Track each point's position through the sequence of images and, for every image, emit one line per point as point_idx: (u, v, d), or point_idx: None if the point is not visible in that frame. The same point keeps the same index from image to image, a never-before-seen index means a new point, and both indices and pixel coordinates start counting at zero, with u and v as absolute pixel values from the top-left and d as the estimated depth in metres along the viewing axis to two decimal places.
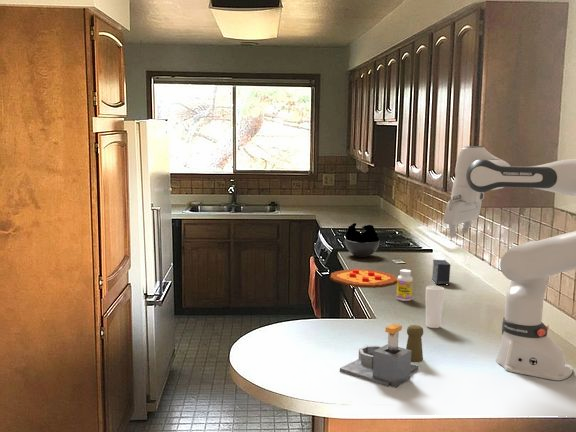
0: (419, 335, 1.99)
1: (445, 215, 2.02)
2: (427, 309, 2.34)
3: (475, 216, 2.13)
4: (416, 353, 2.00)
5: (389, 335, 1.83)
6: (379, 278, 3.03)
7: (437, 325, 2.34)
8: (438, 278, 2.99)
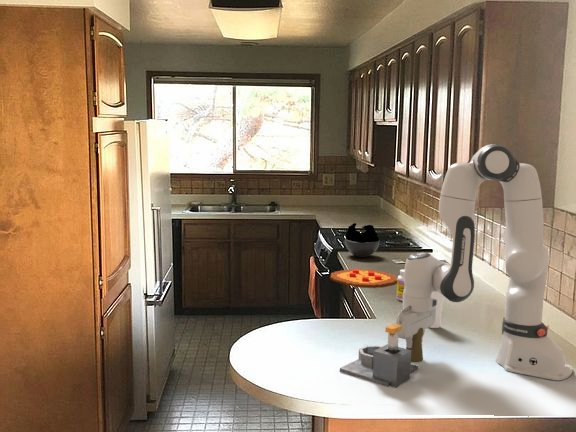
0: (419, 335, 1.99)
1: None
2: None
3: (430, 323, 2.05)
4: (416, 353, 2.00)
5: (389, 335, 1.83)
6: (379, 278, 3.03)
7: (437, 325, 2.34)
8: None
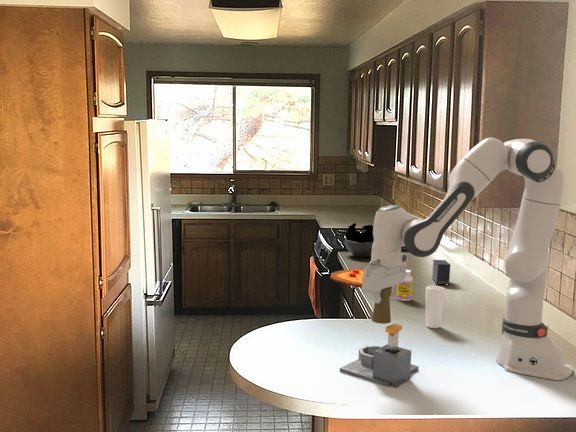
0: (387, 295, 1.94)
1: (363, 282, 1.88)
2: (427, 309, 2.34)
3: (400, 279, 1.99)
4: (384, 314, 1.94)
5: (389, 335, 1.83)
6: None
7: (437, 325, 2.34)
8: (438, 278, 2.99)
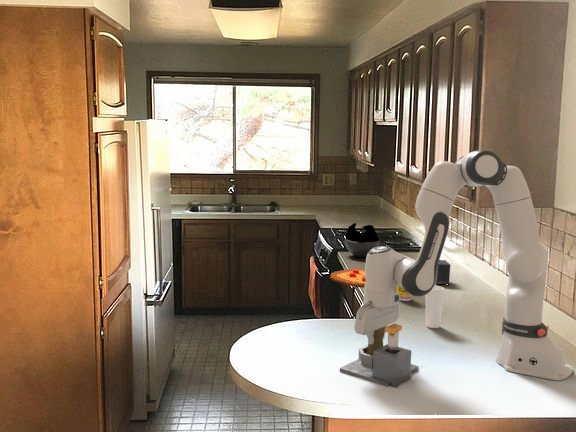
0: (380, 336, 1.95)
1: (356, 325, 1.90)
2: (427, 309, 2.34)
3: (393, 319, 2.00)
4: None
5: (389, 335, 1.83)
6: None
7: (437, 325, 2.34)
8: (438, 278, 2.99)
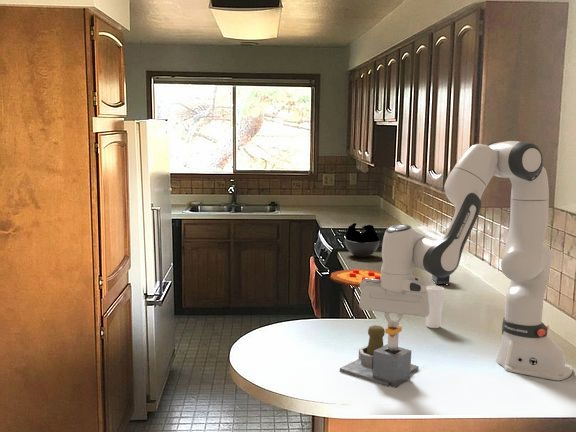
0: (380, 336, 1.95)
1: None
2: None
3: (417, 311, 1.79)
4: None
5: (389, 336, 1.83)
6: (379, 278, 3.03)
7: (437, 325, 2.34)
8: (438, 278, 2.99)
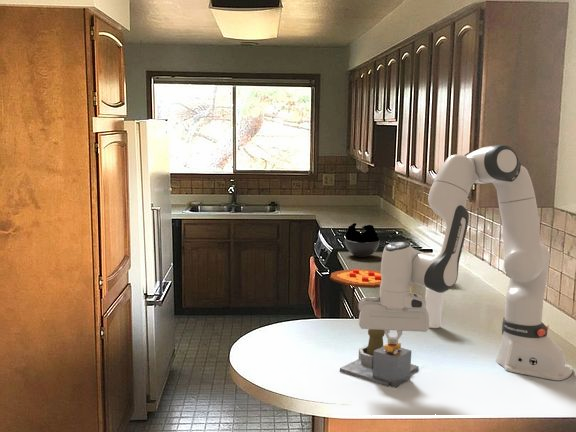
0: (380, 336, 1.95)
1: (359, 317, 1.85)
2: (427, 309, 2.34)
3: (417, 327, 1.81)
4: None
5: None
6: (379, 278, 3.03)
7: (437, 325, 2.34)
8: None
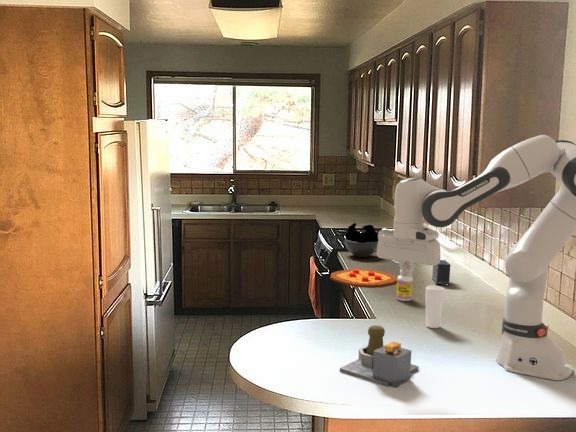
0: (380, 336, 1.95)
1: None
2: (427, 309, 2.34)
3: (424, 260, 1.86)
4: None
5: None
6: (379, 278, 3.03)
7: (437, 325, 2.34)
8: (438, 278, 2.99)
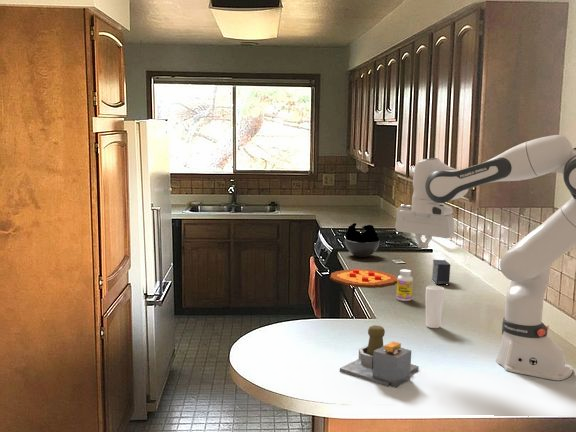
0: (380, 336, 1.95)
1: None
2: (427, 309, 2.34)
3: (439, 233, 2.04)
4: None
5: None
6: (379, 278, 3.03)
7: (437, 325, 2.34)
8: (438, 278, 2.99)
